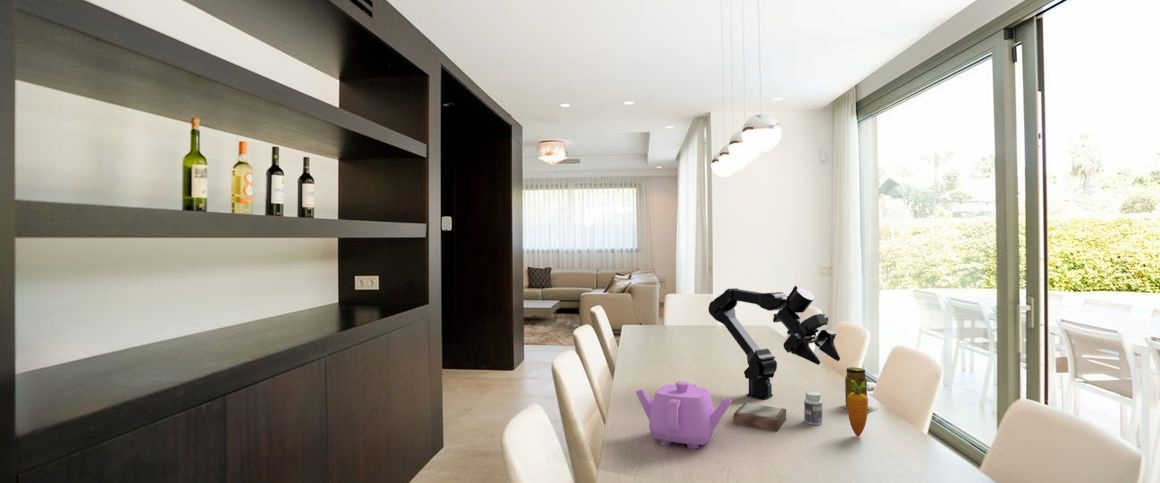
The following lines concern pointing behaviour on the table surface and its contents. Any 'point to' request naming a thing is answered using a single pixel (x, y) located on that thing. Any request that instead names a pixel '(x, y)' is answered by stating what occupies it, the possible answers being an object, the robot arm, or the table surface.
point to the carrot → (857, 408)
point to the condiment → (858, 377)
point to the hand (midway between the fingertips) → (829, 361)
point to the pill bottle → (813, 408)
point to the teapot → (682, 414)
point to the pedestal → (760, 416)
